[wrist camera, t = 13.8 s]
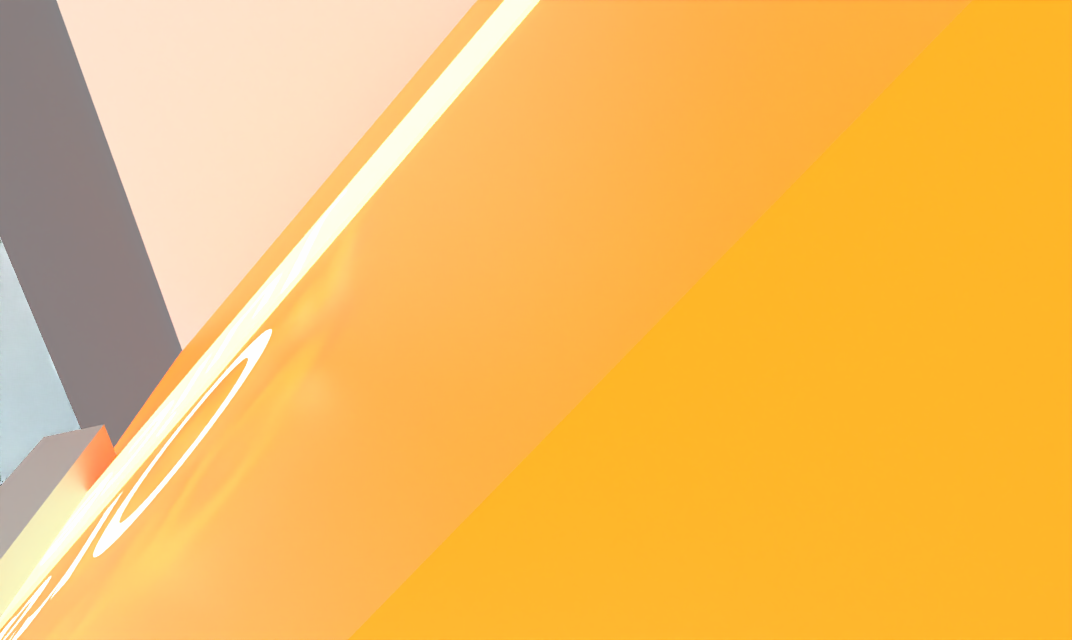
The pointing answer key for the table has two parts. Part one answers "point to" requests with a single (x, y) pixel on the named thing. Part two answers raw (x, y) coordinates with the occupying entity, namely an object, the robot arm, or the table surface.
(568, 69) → the orange juice
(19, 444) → the table surface
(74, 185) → the picture frame
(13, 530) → the robot arm
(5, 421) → the table surface
